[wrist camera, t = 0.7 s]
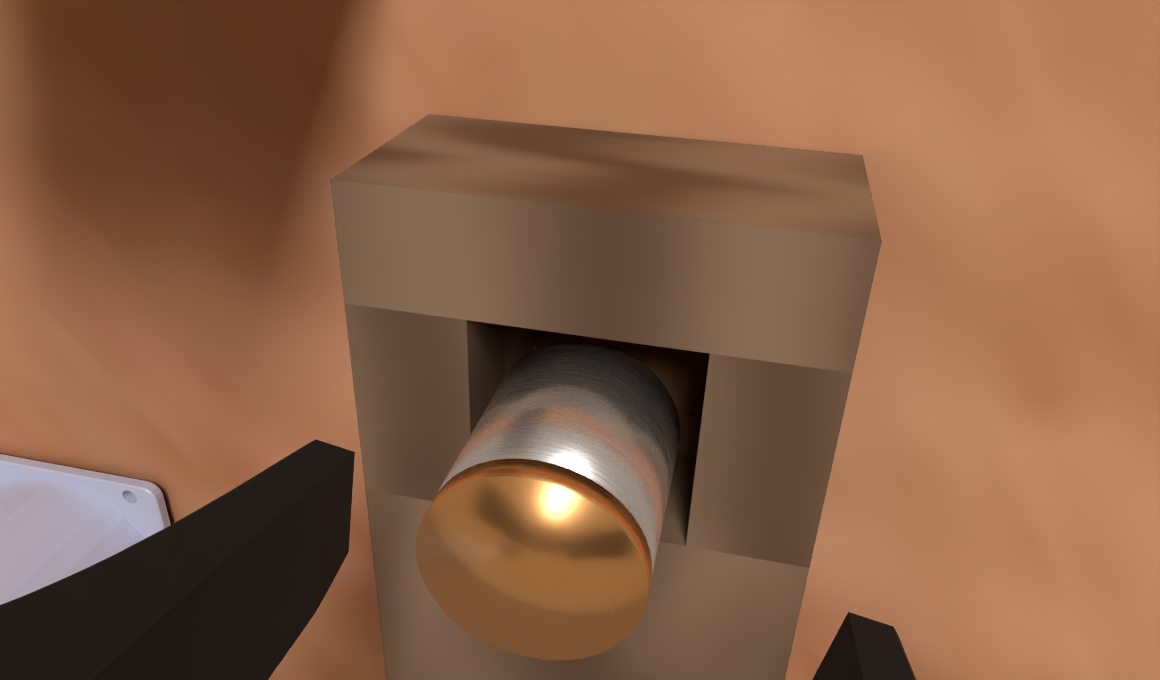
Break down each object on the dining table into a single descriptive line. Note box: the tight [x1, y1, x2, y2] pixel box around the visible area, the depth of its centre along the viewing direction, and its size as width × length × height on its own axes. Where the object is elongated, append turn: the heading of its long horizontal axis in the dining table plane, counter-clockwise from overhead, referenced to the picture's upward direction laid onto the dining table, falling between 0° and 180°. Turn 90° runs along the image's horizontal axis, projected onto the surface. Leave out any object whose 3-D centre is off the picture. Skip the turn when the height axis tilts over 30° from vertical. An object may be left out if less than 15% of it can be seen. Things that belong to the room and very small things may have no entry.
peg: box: [416, 341, 680, 660], centre depth 16 cm, size 4×4×4 cm
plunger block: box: [331, 115, 881, 680], centre depth 24 cm, size 10×26×5 cm, turn 178°
